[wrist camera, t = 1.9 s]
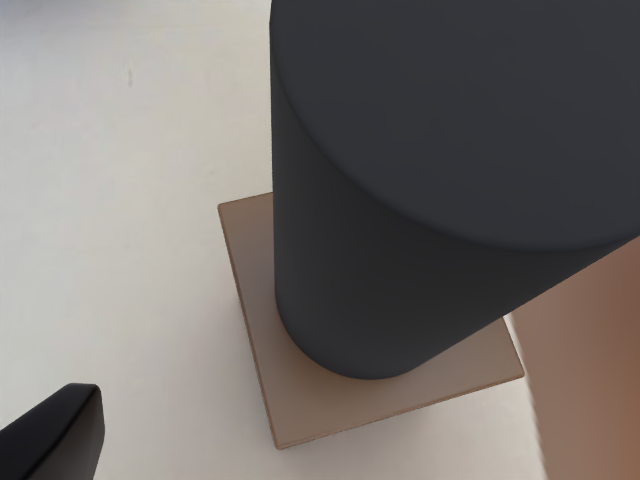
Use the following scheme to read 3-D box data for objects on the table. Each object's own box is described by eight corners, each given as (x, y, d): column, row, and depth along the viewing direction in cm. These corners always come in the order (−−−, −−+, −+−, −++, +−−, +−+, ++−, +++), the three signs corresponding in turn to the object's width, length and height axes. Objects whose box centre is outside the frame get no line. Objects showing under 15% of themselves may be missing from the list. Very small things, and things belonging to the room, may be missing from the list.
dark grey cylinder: (483, 351, 13) (836, 183, 5) (301, 403, 13) (351, 312, 4) (421, 186, 15) (615, -167, 6) (255, 224, 14) (221, -114, 6)
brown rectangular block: (431, 404, 21) (527, 375, 13) (276, 450, 21) (275, 450, 12) (382, 257, 23) (440, 152, 15) (238, 293, 22) (216, 202, 14)
